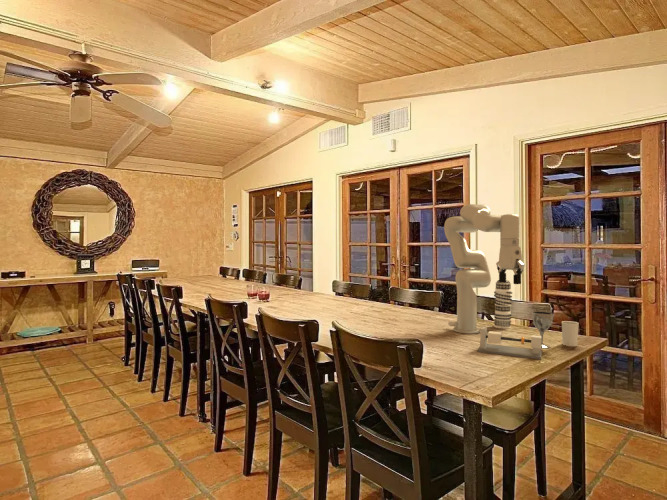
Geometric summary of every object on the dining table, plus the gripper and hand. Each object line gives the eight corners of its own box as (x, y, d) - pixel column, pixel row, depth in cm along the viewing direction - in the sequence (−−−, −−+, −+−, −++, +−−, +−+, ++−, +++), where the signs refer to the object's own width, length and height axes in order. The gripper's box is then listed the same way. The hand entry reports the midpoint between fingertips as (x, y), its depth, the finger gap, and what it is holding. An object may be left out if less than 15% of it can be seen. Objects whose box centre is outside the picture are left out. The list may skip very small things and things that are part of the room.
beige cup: (580, 347, 191) (580, 324, 190) (563, 346, 192) (564, 323, 192) (575, 343, 197) (575, 321, 197) (559, 342, 198) (559, 320, 198)
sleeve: (487, 342, 184) (487, 333, 184) (489, 340, 187) (489, 331, 187) (500, 343, 182) (500, 334, 181) (501, 341, 185) (501, 332, 185)
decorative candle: (508, 325, 236) (509, 279, 235) (514, 329, 227) (515, 281, 226) (491, 324, 237) (492, 279, 236) (496, 328, 228) (496, 281, 227)
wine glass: (549, 344, 194) (550, 311, 194) (553, 349, 187) (554, 314, 186) (530, 343, 197) (531, 310, 196) (533, 347, 189) (534, 313, 188)
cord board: (477, 351, 182) (477, 330, 182) (482, 345, 193) (482, 325, 192) (540, 359, 171) (541, 336, 171) (542, 352, 182) (542, 330, 181)
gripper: (531, 243, 179) (531, 284, 179) (504, 243, 196) (504, 281, 196) (515, 243, 177) (515, 285, 177) (489, 243, 194) (489, 281, 194)
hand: (509, 283), depth 186 cm, fingers open, 9 cm apart
